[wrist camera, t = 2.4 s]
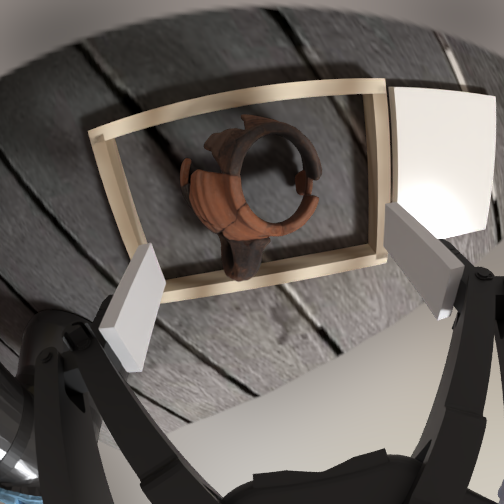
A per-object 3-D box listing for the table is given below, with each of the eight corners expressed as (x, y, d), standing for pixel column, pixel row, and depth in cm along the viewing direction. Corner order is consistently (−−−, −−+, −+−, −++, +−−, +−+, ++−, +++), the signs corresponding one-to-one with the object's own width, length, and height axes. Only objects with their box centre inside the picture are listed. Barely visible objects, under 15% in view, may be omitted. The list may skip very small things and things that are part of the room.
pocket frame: (154, 291, 29) (150, 304, 27) (98, 127, 20) (87, 131, 19) (378, 252, 28) (386, 262, 26) (373, 78, 20) (384, 78, 18)
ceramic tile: (390, 243, 28) (394, 248, 27) (388, 86, 20) (393, 87, 19) (480, 225, 27) (485, 229, 27) (489, 95, 20) (495, 96, 19)
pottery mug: (169, 125, 22) (210, 102, 15) (270, 129, 26) (335, 118, 19) (176, 272, 25) (217, 311, 18) (270, 255, 29) (331, 280, 23)
